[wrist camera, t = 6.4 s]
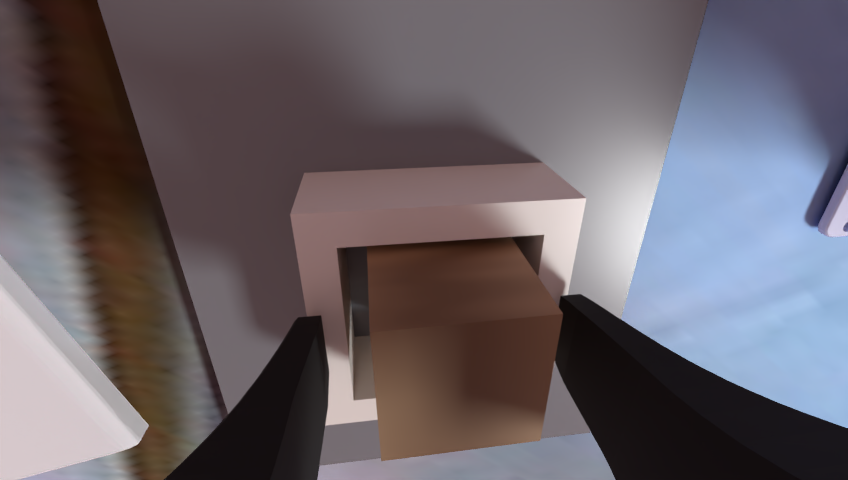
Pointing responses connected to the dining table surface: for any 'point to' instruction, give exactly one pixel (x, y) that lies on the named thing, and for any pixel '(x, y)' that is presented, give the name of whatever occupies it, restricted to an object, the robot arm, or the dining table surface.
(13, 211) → the dining table surface
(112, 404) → the external hard drive
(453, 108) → the socket
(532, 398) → the brown rectangular block
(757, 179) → the dining table surface
